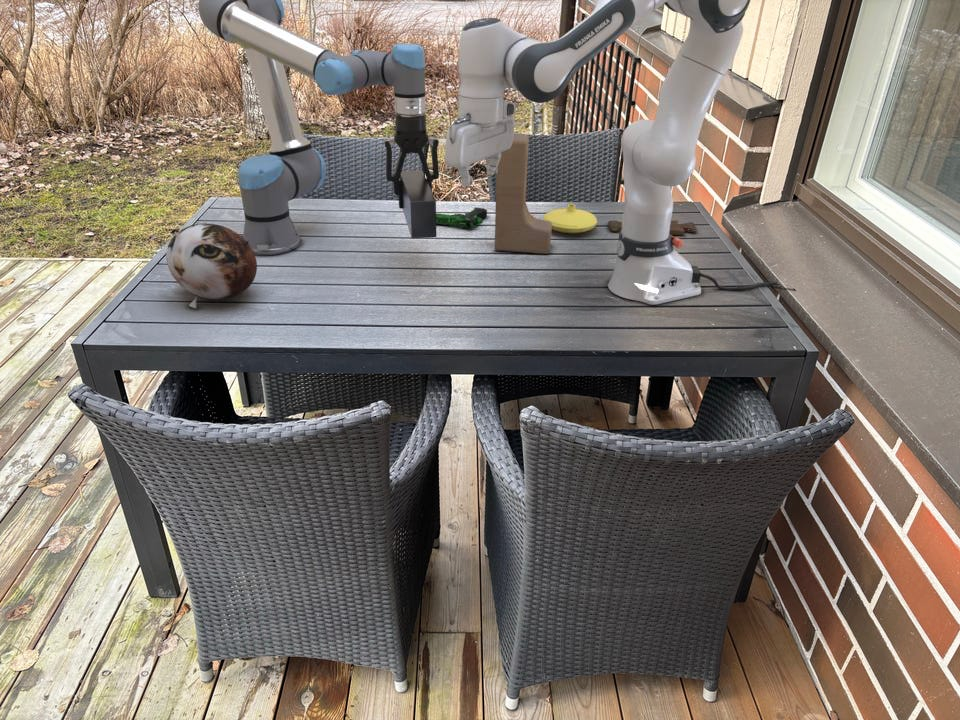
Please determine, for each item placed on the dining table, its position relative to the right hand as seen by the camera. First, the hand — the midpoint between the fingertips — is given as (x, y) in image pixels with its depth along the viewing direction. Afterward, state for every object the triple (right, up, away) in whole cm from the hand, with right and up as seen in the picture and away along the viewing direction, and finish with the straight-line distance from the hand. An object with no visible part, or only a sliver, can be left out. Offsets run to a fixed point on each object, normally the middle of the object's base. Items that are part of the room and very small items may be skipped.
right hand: (479, 179), depth 147 cm
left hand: (-17, +3, +38) cm, 42 cm away
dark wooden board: (+51, +1, +65) cm, 82 cm away
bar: (-15, -2, +31) cm, 35 cm away
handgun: (-6, +5, +69) cm, 69 cm away
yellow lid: (+27, +1, +64) cm, 69 cm away
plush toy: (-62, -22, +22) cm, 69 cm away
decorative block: (+12, -6, +51) cm, 52 cm away
